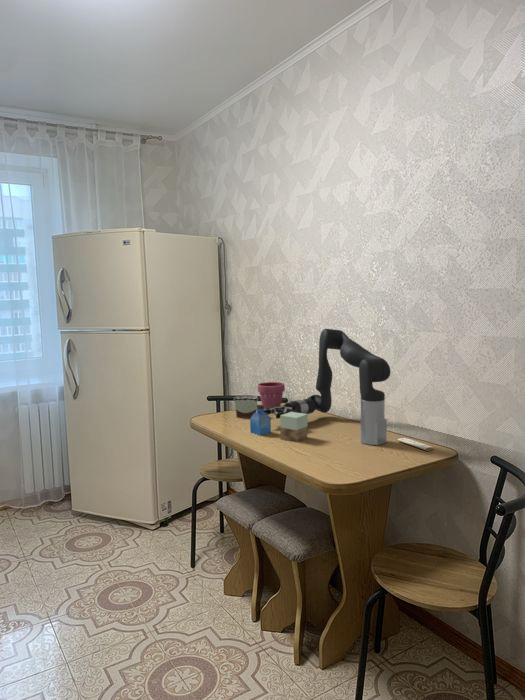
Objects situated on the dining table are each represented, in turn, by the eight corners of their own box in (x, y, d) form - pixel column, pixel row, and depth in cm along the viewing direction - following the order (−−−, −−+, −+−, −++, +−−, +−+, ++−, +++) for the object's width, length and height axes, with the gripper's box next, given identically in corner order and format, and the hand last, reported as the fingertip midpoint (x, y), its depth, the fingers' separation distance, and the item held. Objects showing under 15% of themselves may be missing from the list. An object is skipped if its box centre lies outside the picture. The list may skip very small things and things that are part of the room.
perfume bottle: (261, 430, 225) (261, 403, 224) (270, 433, 220) (270, 405, 219) (250, 432, 221) (250, 405, 220) (259, 435, 216) (259, 407, 215)
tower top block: (307, 426, 212) (307, 414, 211) (296, 430, 205) (296, 417, 205) (291, 423, 217) (291, 411, 216) (280, 427, 210) (280, 415, 210)
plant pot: (257, 405, 276) (257, 381, 275) (283, 404, 277) (283, 381, 276) (258, 411, 262) (258, 386, 261) (286, 410, 263) (285, 385, 262)
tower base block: (307, 437, 213) (306, 425, 212) (297, 442, 206) (297, 430, 206) (290, 435, 217) (290, 423, 217) (280, 439, 210) (280, 427, 210)
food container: (260, 414, 255) (259, 394, 254) (258, 417, 248) (258, 397, 247) (235, 414, 256) (235, 394, 255) (233, 417, 250) (233, 397, 249)
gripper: (285, 398, 239) (258, 403, 229) (307, 402, 229) (281, 408, 218) (285, 414, 240) (259, 420, 229) (307, 419, 230) (281, 425, 219)
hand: (269, 414), depth 224 cm, fingers open, 8 cm apart
